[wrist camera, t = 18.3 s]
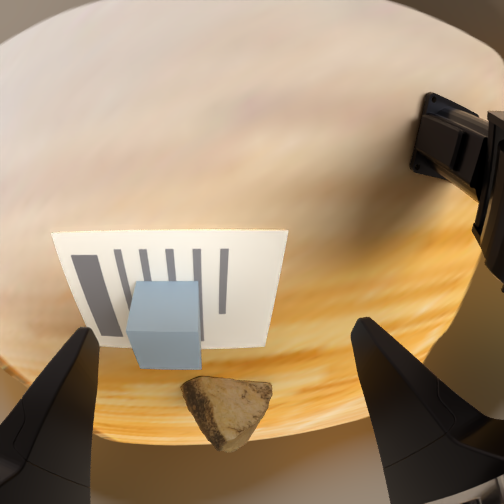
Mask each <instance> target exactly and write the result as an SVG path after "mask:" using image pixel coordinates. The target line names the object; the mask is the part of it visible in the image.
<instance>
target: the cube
mask: <svg viewBox="0 0 504 504" xmlns="http://www.w3.org/2000/svg"><path fill="white" fill-rule="evenodd" d="M126 333H127V336H128V338H129V341H130V344H131V346H132V349H133V352H134V354H135V357H136V359H137V362H138V364H139V366H140V369H172V370H198V369H202V363H201V330H200V307H199V286H198V281H136V285H135V289H134V293H133V298H132V302H131V307H130V312H129V316H128V321H127V326H126Z"/></svg>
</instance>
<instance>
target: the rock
mask: <svg viewBox="0 0 504 504" xmlns="http://www.w3.org/2000/svg"><path fill="white" fill-rule="evenodd" d="M181 390H182V392H183V397H184V399H185V401H186V405H187V407H188V410H189V411H190V412H191V413H192V415H193V416H194V418H195V421H196V422H197V424H198V426H199V428H200V430H201V431H202V433H203V434H204V435H205V436H206V438H207V440H208V441H210V442H211V443H212V444H213V446H214V447H215V449H216V450H217V451H225V452H234V451H236V450H237V449H238V448H240V447H241V446H243V445H245V444H246V443H247V441H248V440H249V438H250V436H251V435H252V433H253V432H254V430H255V429H256V427H257V425H258V423H259V422H260V420H261V419H262V418H263V416H264V415H265V412H266V410H267V409H268V406H269V405H268V404H269V401H270V398H271V396H272V385H271V384H270V383H264V382H261V383H260V382H252V381H240V380H234V379H226V378H212V377H198V378H195V379H192V380H190V381H187V382H186V383H184V385H183V386H181Z"/></svg>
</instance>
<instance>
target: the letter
mask: <svg viewBox="0 0 504 504" xmlns="http://www.w3.org/2000/svg"><path fill="white" fill-rule="evenodd" d="M51 235H52V238H53V241H54V245H55V248H56V251H57V254H58V257H59V260H60V263H61V265H62V268H63V271H64V274H65V276H66V279H67V282H68V284H69V287H70V289H71V292H72V294H73V297H74V299H75V302H76V304H77V306H78V309H79V311H80V313H81V315H82V318H83V320H84V322H85V324H86V326H87V327H90V328H91V329H92V330H93V332H94V334H95V336H96V338H97V340H98V342H99V346H104V347H119V348H132V346H131V344H130V341H129V338H128V336H127V333H126V326H127V321H128V316H129V312H130V307H131V302H132V298H133V293H134V289H135V285H136V281H198V286H199V307H200V330H201V349H229V348H250V347H265V344H266V339H267V334H268V330H269V325H270V321H271V316H272V311H273V306H274V302H275V297H276V292H277V287H278V282H279V277H280V272H281V267H282V262H283V257H284V252H285V247H286V241H287V236H288V230H262V229H175V230H112V231H75V232H52V233H51Z"/></svg>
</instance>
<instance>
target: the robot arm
mask: <svg viewBox="0 0 504 504" xmlns="http://www.w3.org/2000/svg"><path fill="white" fill-rule="evenodd" d="M432 97H433V101H432ZM487 119H488V120H489V122H488V121H486V120H483V119H481V118H479V116H478V115H477V114H476V113H474V112H472V111H470V110H468V109H466V108H464V107H463V106H461V105H459V104H457V103H455V102H453V101H451V100H448V99H446V98H444V97H442V96H440V95H438V94H435V93H432V92H429V93H428V94H427V95H426V99H425V104H424V109H423V114H422V118H421V123H420V127H419V131H418V136H417V140H416V144H415V147H414V151H413V155H412V159H411V162H410V169H411V170H412V171H413V172H415V173H418V174H423V175H428V176H432V177H437V178H441V179H446V180H449V181H450V182H451V183H453V184H454V185H456V186H457V187H458V188H460V189H461V190H462V191H464V192H465V193H466V194H468V195H469V196H470V197H471V198H473V199H474V200H475V201H477V202H478V203H479V205H478V210H477V215H476V219H475V223H474V224H473V227H472V232H473V234H474V236H475V238H476V240H477V241H478V243H479V245H480V247H481V249H482V252H483V254H484V257H485V265H486V266H487V268H488V269H489V270H490V272H491V273H492V274H493V275H494V276H495V277H496V278H497V279H498V280H499V281H501V282H502V283H503V286H502V288H501V290H502V292H503V293H504V111H488V115H487ZM416 165H417V167H416V168H415V166H416ZM351 342H352V347H353V352H354V357H355V362H356V367H357V372H358V377H359V380H360V384H361V387H362V390H363V394H364V397H365V401H366V404H367V408H368V411H369V415H370V418H371V422H372V426H373V429H374V433H375V437H376V441H377V445H378V449H379V453H380V457H381V461H382V465H383V468H384V469H383V470H384V475H385V479H386V484H387V488H388V493H389V498H390V503H391V504H504V420H499V419H493V418H490V417H487V416H485V415H484V414H482V413H481V412H479V411H478V410H477V409H475V408H474V407H473V406H472V405H470V404H469V403H468V402H466V401H465V400H464V399H462V398H461V397H459V395H457V394H456V393H455V392H453V391H452V390H451V389H450V388H449V387H448V386H447V385H445V384H444V383H443V382H442V381H441V380H440V379H438V378H437V376H436V375H434V374H433V373H432V372H431V371H430V370H429V369H428V368H427V367H425V366H424V365H423V364H422V363H421V362H420V361H419V360H418V359H417V358H416V357H414V356H413V355H412V354H411V353H410V352H409V351H408V350H407V349H405V348H404V347H403V346H402V345H401V344H400V343H399V342H398V341H396V340H395V339H394V338H393V337H392V336H391V335H390V334H389V333H387V332H386V331H385V330H384V329H383V328H382V327H380V326H379V325H378V324H377V323H376V322H375V321H374V320H372V319H371V318H370V317H363V318H359V319H358V320H357V321H356V324H355V326H354V328H353V330H352V332H351ZM99 349H100V347H99V342H98V340H97V338H96V336H95V334H94V332H93V330H92V329H91V328H90V327H80V328H78V329H77V330H76V332H75V333H74V334H73V335H72V336H71V337H70V338H69V340H68V341H67V342H66V343H65V344H64V345H63V347H62V348H61V349H60V350H59V351H58V353H57V354H56V355H55V356H54V357H53V359H52V360H51V361H50V362H49V363H48V365H47V366H46V367H45V368H44V370H43V371H42V372H41V373H40V375H39V376H38V377H37V378H36V380H35V381H34V382H33V383H32V385H31V386H30V387H29V389H28V390H27V391H26V393H25V394H24V395H23V397H22V399H20V401H19V402H18V403H17V405H16V406H15V407H14V408H13V410H12V411H11V412H10V414H9V415H8V416H7V417H6V419H5V420H4V421H3V422H2V423H1V425H0V504H90V465H91V444H92V431H93V421H94V411H95V403H96V395H97V385H98V364H99Z"/></svg>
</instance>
